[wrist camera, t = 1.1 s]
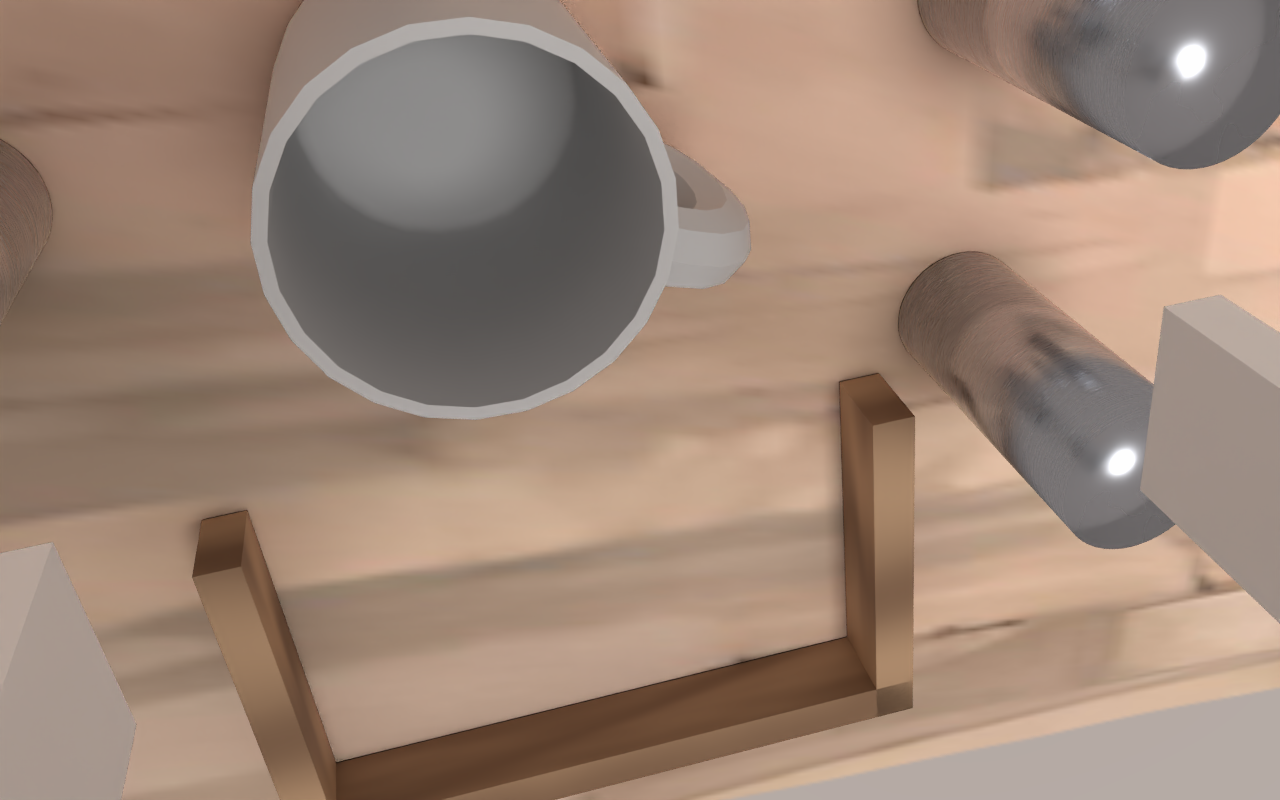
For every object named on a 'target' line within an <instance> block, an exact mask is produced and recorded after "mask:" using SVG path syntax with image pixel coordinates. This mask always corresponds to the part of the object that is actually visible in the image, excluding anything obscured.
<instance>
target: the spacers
mask: <svg viewBox="0 0 1280 800" xmlns="http://www.w3.org/2000/svg"><path fill="white" fill-rule="evenodd" d="M918 6H919V12H920V15H921V18H922V21H923V24H924V26H925V28H926V30H927V31H928V33H929V34H930V36H931V37H932V38H933V39H934V40H935V41H936V42H937V43H938V44H939V45H941V46H942V47H943V48H945V49H947V50H949V51H950V52H952V53H954V54H956V55H958V56H960V57H962V58H963V59H965V60H967V61H969V62H971V63H973V64H975V65H977V66H978V67H980V68H982V69H984V70H986V71H988V72H990V73H992V74H993V75H995V76H997V77H999V78H1001V79H1003V80H1005V81H1007V82H1008V83H1010V84H1012V85H1014V86H1016V87H1018V88H1020V89H1022V90H1023V91H1025V92H1027V93H1029V94H1031V95H1033V96H1035V97H1037V98H1038V99H1040V100H1042V101H1044V102H1046V103H1048V104H1050V105H1052V106H1053V107H1055V108H1057V109H1059V110H1061V111H1063V112H1065V113H1066V114H1068V115H1070V116H1072V117H1074V118H1076V119H1078V120H1080V121H1081V122H1083V123H1085V124H1087V125H1089V126H1091V127H1093V128H1095V129H1096V130H1098V131H1100V132H1102V133H1104V134H1106V135H1108V136H1110V137H1111V138H1113V139H1115V140H1117V141H1119V142H1121V143H1123V144H1125V145H1126V146H1128V147H1130V148H1132V149H1134V150H1136V151H1138V152H1140V153H1141V154H1143V155H1145V156H1147V157H1149V158H1151V159H1153V160H1154V161H1156V162H1158V163H1160V164H1162V165H1165V166H1168V167H1172V168H1178V169H1197V168H1204V167H1208V166H1211V165H1215V164H1217V163H1220V162H1222V161H1225V160H1227V159H1229V158H1231V157H1233V156H1235V155H1236V154H1238V153H1240V152H1241V151H1243V150H1244V149H1246V148H1247V147H1248V146H1250V145H1251V144H1252V143H1253V142H1255V141H1256V140H1257V139H1258V138H1259V137H1260V136H1261V135H1262V134H1263V133H1264V132H1265V131H1266V130H1267V129H1268V128H1269V127H1270V126H1271V125H1272V123H1273V122H1274V121H1275V120H1276V119H1277V117H1278V116H1279V115H1280V0H918ZM51 225H52V206H51V200H50V197H49V193H48V190H47V188H46V186H45V184H44V182H43V180H42V178H41V177H40V175H39V173H38V172H37V170H36V169H35V168H34V167H33V166H32V164H31V163H30V162H29V161H28V160H27V159H26V158H25V157H24V156H23V155H22V154H21V153H20V152H18V151H17V150H16V149H14V148H13V147H12V146H10V145H9V144H7V143H5V142H4V141H2V140H0V325H1V323H2V321H3V319H4V318H5V316H6V314H7V312H8V310H9V309H10V307H11V305H12V303H13V301H14V300H15V298H16V296H17V294H18V292H19V291H20V289H21V287H22V285H23V283H24V282H25V280H26V278H27V276H28V274H29V273H30V271H31V269H32V267H33V265H34V264H35V262H36V260H37V258H38V256H39V255H40V253H41V251H42V249H43V247H44V245H45V243H46V241H47V239H48V237H49V234H50V231H51ZM898 324H899V333H900V337H901V340H902V343H903V345H904V346H905V348H906V350H907V351H908V352H909V353H910V354H911V355H912V357H913V358H914V359H915V360H916V361H917V362H918V363H919V364H920V365H921V366H922V368H923V369H924V370H925V371H926V372H927V373H928V374H929V375H930V376H931V377H932V379H933V380H934V381H935V382H936V383H937V384H938V385H939V386H940V387H941V388H942V389H943V391H944V392H945V393H946V394H947V395H948V396H949V397H950V398H951V399H952V400H953V402H954V403H955V404H956V405H957V406H958V407H959V408H960V409H961V410H962V411H963V413H964V414H965V415H966V416H967V417H968V418H969V419H970V420H971V421H972V422H973V423H974V425H975V426H976V427H977V428H978V429H979V430H980V431H981V432H982V433H983V434H984V436H985V437H986V438H987V439H988V440H989V441H990V442H991V443H992V444H993V445H994V447H995V448H996V449H997V450H998V451H999V452H1000V453H1001V454H1002V455H1003V456H1004V457H1005V459H1006V460H1007V461H1008V462H1009V463H1010V464H1011V465H1012V466H1013V467H1014V468H1015V470H1016V471H1017V472H1018V473H1019V474H1020V475H1021V476H1022V477H1023V478H1024V479H1025V481H1026V482H1027V483H1028V484H1029V485H1030V486H1031V487H1032V488H1033V489H1034V490H1035V491H1036V493H1037V494H1038V495H1039V496H1040V497H1041V498H1042V499H1043V500H1044V501H1045V502H1046V504H1047V505H1048V506H1049V507H1050V508H1051V509H1052V510H1053V511H1054V512H1055V513H1056V515H1057V516H1058V517H1059V518H1060V519H1061V520H1062V521H1063V522H1064V523H1065V524H1066V525H1067V527H1068V528H1069V529H1070V530H1071V531H1072V532H1073V533H1074V534H1075V535H1076V536H1077V537H1078V538H1079V539H1080V540H1082V541H1083V542H1085V543H1087V544H1089V545H1092V546H1094V547H1098V548H1104V549H1120V548H1127V547H1132V546H1135V545H1139V544H1142V543H1144V542H1147V541H1149V540H1151V539H1153V538H1155V537H1157V536H1159V535H1161V534H1162V533H1164V532H1165V531H1167V530H1169V529H1170V528H1171V527H1173V526H1174V525H1175V523H1174V522H1173V521H1172V520H1171V519H1170V518H1169V517H1168V516H1167V515H1166V514H1165V513H1164V512H1162V511H1161V510H1160V509H1159V508H1158V507H1157V506H1156V505H1155V504H1154V503H1153V502H1152V501H1151V500H1150V499H1149V498H1148V497H1147V496H1146V495H1145V494H1144V493H1143V492H1142V491H1140V486H1141V479H1142V471H1143V463H1144V456H1145V448H1146V440H1147V432H1148V425H1149V417H1150V409H1151V402H1152V394H1153V386H1154V384H1152V383H1151V382H1150V381H1149V380H1147V379H1146V378H1145V377H1144V376H1142V375H1141V374H1140V373H1139V372H1137V371H1136V370H1135V369H1134V368H1132V367H1131V366H1130V365H1129V364H1128V363H1126V362H1125V361H1124V360H1123V359H1121V358H1120V357H1119V356H1118V355H1116V354H1115V353H1114V352H1113V351H1111V350H1110V349H1109V348H1108V347H1107V346H1105V345H1104V344H1103V343H1102V342H1100V341H1099V340H1098V339H1097V338H1095V337H1094V336H1093V335H1092V334H1090V333H1089V332H1088V331H1087V330H1085V329H1084V328H1083V327H1082V326H1081V325H1079V324H1078V323H1077V322H1076V321H1074V320H1073V319H1072V318H1071V317H1069V316H1068V315H1067V314H1066V313H1064V312H1063V311H1062V310H1061V309H1059V308H1058V307H1057V306H1056V305H1055V304H1053V303H1052V302H1051V301H1050V300H1048V299H1047V298H1046V297H1045V296H1043V295H1042V294H1041V293H1040V292H1038V291H1037V290H1036V289H1035V288H1034V287H1032V286H1031V285H1030V284H1029V283H1027V282H1026V281H1025V280H1024V279H1022V278H1021V277H1020V276H1019V275H1017V274H1016V273H1015V272H1014V271H1012V270H1011V269H1010V268H1009V267H1008V266H1006V265H1005V264H1004V263H1003V262H1001V261H1000V260H998V259H997V258H995V257H993V256H991V255H988V254H985V253H980V252H964V253H958V254H954V255H951V256H949V257H946V258H944V259H942V260H940V261H938V262H936V263H935V264H933V265H932V266H930V267H929V268H928V269H926V270H925V271H924V272H923V273H922V274H921V275H920V276H919V277H918V278H917V279H916V280H915V282H914V283H913V284H912V285H911V287H910V289H909V290H908V292H907V293H906V296H905V298H904V300H903V302H902V305H901V309H900V313H899V323H898Z"/></svg>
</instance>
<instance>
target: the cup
mask: <svg viewBox="0 0 1280 800" xmlns="http://www.w3.org/2000/svg"><path fill="white" fill-rule="evenodd" d="M251 246H252V250H253V254H254V258H255V262H256V265H257V269H258V273H259V277H260V281H261V285H262V289H263V292H264V296H265V297H266V299H267V301H268V302H269V304H270V306H271V307H272V309H273V311H274V312H275V314H276V316H277V317H278V319H279V321H280V322H281V324H282V326H283V327H284V329H285V331H286V332H287V334H288V336H289V337H290V339H291V341H292V342H293V343H294V344H295V345H296V346H297V347H298V348H300V349H301V350H302V351H303V352H304V353H305V354H306V355H307V356H308V357H309V358H310V359H311V360H312V361H313V362H314V363H315V364H316V365H317V366H318V367H319V368H320V369H321V370H322V371H323V372H324V373H325V374H326V375H327V376H328V377H330V378H331V379H333V380H335V381H337V382H338V383H340V384H342V385H344V386H345V387H347V388H349V389H351V390H352V391H354V392H356V393H358V394H360V395H361V396H363V397H365V398H367V399H368V400H370V401H372V402H374V403H376V404H380V405H383V406H387V407H390V408H394V409H397V410H401V411H404V412H408V413H411V414H414V415H418V416H421V417H427V418H449V419H470V420H478V419H483V418H489V417H495V416H500V415H506V414H512V413H517V412H523V411H527V410H530V409H532V408H535V407H537V406H539V405H542V404H544V403H546V402H549V401H551V400H553V399H556V398H558V397H560V396H563V395H565V394H567V393H570V392H572V391H574V390H575V389H577V388H578V387H579V386H581V385H582V384H584V383H585V382H586V381H588V380H589V379H591V378H592V377H593V376H595V375H596V374H597V373H599V372H600V371H602V370H603V369H604V368H606V367H607V366H608V365H610V364H611V363H613V362H614V361H615V360H616V359H617V357H618V356H619V355H620V354H621V353H622V352H623V350H624V349H625V348H626V347H627V346H628V344H629V343H630V342H631V341H632V340H633V339H634V337H635V336H636V335H637V334H638V333H639V331H640V330H641V329H642V328H643V327H644V326H645V324H646V323H647V321H648V319H649V317H650V315H651V313H652V311H653V309H654V307H655V305H656V303H657V301H658V299H659V297H660V295H661V293H662V291H663V289H664V287H665V286H666V287H682V288H698V289H705V288H709V287H712V286H716V285H720V284H724V283H725V282H726V281H727V280H728V279H729V278H730V277H731V276H732V275H733V274H734V273H735V272H736V270H737V269H738V268H739V267H740V266H741V265H742V264H743V263H744V262H745V261H746V259H747V257H748V255H749V253H750V251H751V239H750V223H749V218H748V215H747V212H746V210H745V207H744V205H743V204H742V203H741V202H740V200H739V199H738V198H737V197H736V196H735V195H734V193H733V192H732V191H731V190H730V189H729V188H728V187H726V186H725V185H724V184H723V183H721V182H720V181H719V180H718V179H717V178H715V177H714V176H713V175H712V174H710V173H709V172H708V171H707V170H706V169H704V168H703V167H702V166H701V165H699V164H698V163H697V162H696V161H694V160H693V159H691V158H689V157H688V156H686V155H685V154H683V153H681V152H680V151H678V150H676V149H675V148H673V147H671V146H668V145H666V144H664V143H663V141H662V138H661V135H660V132H659V129H658V128H657V126H656V125H655V123H654V122H653V121H652V119H651V118H650V116H649V115H648V113H647V112H646V111H645V109H644V108H643V106H642V105H641V103H640V102H639V101H638V99H637V98H636V96H635V95H634V93H633V92H632V91H631V89H630V88H629V86H628V85H627V84H626V82H625V81H624V80H623V79H622V77H621V76H620V75H619V74H618V72H617V71H616V70H615V69H614V67H613V66H612V65H611V64H610V62H609V61H608V60H607V59H606V58H605V56H604V55H603V54H602V53H601V51H600V50H599V49H598V48H597V46H596V45H595V44H594V43H593V41H592V40H591V39H590V38H589V36H588V35H587V34H586V33H585V32H584V30H583V29H582V28H581V27H580V25H579V24H578V23H577V22H576V20H575V19H574V18H573V17H572V15H571V14H570V13H569V12H568V10H567V9H566V8H565V7H564V5H563V4H562V3H561V2H560V1H559V0H304V1H303V2H302V4H301V5H300V6H299V8H298V9H297V11H296V12H295V14H294V15H293V17H292V18H291V20H290V21H289V23H288V25H287V28H286V31H285V34H284V37H283V40H282V43H281V46H280V49H279V52H278V55H277V58H276V61H275V64H274V67H273V73H272V78H271V84H270V90H269V95H268V101H267V107H266V112H265V118H264V124H263V129H262V135H261V141H260V147H259V152H258V158H257V164H256V169H255V175H254V181H253V186H252V213H251Z"/></svg>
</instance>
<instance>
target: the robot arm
mask: <svg viewBox="0 0 1280 800" xmlns="http://www.w3.org/2000/svg"><path fill="white" fill-rule="evenodd" d="M1140 491H1142V492H1143V493H1144V494H1145V495H1146V496H1147V497H1148V498H1149V499H1150V500H1151V501H1152V502H1153V503H1154V504H1155V505H1156V506H1157V507H1158V508H1159V509H1160V510H1161V511H1162V512H1164V513H1165V514H1166V515H1167V516H1168V517H1169V518H1170V519H1171V520H1172V521H1173V522H1174V523H1175V524H1176V525H1177V526H1178V527H1179V528H1180V529H1181V530H1182V531H1183V532H1184V533H1186V534H1187V535H1188V536H1189V537H1190V538H1191V539H1192V540H1193V541H1194V542H1195V543H1196V544H1197V545H1198V546H1199V547H1200V548H1201V549H1202V550H1203V551H1204V552H1205V553H1206V554H1207V555H1209V556H1210V557H1211V558H1212V559H1213V560H1214V561H1215V562H1216V563H1217V564H1218V565H1219V566H1220V567H1221V568H1222V569H1223V570H1224V571H1225V572H1226V573H1227V574H1228V575H1229V576H1231V577H1232V578H1233V579H1234V580H1235V581H1236V582H1237V583H1238V584H1239V585H1240V586H1241V587H1242V588H1243V589H1244V590H1245V591H1246V592H1247V593H1248V594H1249V595H1250V596H1251V597H1253V598H1254V599H1255V600H1256V601H1257V602H1258V603H1259V604H1260V605H1261V606H1262V607H1263V608H1264V609H1265V610H1266V611H1267V612H1268V613H1269V614H1270V615H1271V616H1272V617H1273V618H1275V619H1276V620H1277V621H1278V622H1279V623H1280V333H1279V332H1278V331H1276V330H1275V329H1273V328H1271V327H1270V326H1268V325H1267V324H1265V323H1264V322H1262V321H1261V320H1259V319H1258V318H1256V317H1254V316H1253V315H1251V314H1250V313H1248V312H1247V311H1245V310H1244V309H1242V308H1241V307H1239V306H1237V305H1236V304H1234V303H1233V302H1231V301H1230V300H1228V299H1227V298H1225V297H1223V296H1222V295H1217V296H1212V297H1207V298H1203V299H1198V300H1193V301H1188V302H1184V303H1179V304H1174V305H1170V306H1165V307H1164V310H1163V317H1162V325H1161V333H1160V340H1159V348H1158V356H1157V363H1156V371H1155V379H1154V386H1153V394H1152V402H1151V409H1150V417H1149V425H1148V432H1147V440H1146V448H1145V456H1144V463H1143V471H1142V479H1141V486H1140ZM135 729H136V722H135V720H134V717H133V715H132V713H131V711H130V709H129V706H128V704H127V702H126V700H125V698H124V696H123V693H122V691H121V689H120V687H119V685H118V683H117V680H116V678H115V676H114V674H113V672H112V669H111V667H110V665H109V663H108V661H107V659H106V656H105V654H104V652H103V650H102V648H101V646H100V643H99V641H98V639H97V637H96V635H95V632H94V630H93V628H92V626H91V624H90V622H89V619H88V617H87V615H86V613H85V611H84V608H83V606H82V604H81V602H80V600H79V598H78V595H77V593H76V591H75V589H74V587H73V585H72V582H71V580H70V578H69V576H68V574H67V571H66V569H65V567H64V565H63V563H62V561H61V558H60V556H59V554H58V552H57V550H56V548H55V545H54V543H53V542H51V543H46V544H41V545H36V546H32V547H27V548H22V549H17V550H13V551H8V552H3V553H0V800H121V798H122V793H123V789H124V784H125V779H126V774H127V769H128V764H129V759H130V754H131V749H132V744H133V739H134V734H135Z"/></svg>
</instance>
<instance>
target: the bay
mask: <svg viewBox="0 0 1280 800" xmlns="http://www.w3.org/2000/svg"><path fill="white" fill-rule="evenodd" d="M840 414H841V447H842V480H843V513H844V546H845V579H846V612H847V637H846V638H842V639H838V640H834V641H830V642H826V643H822V644H818V645H814V646H810V647H805V648H801V649H797V650H793V651H789V652H785V653H781V654H777V655H773V656H769V657H765V658H761V659H757V660H753V661H749V662H745V663H741V664H737V665H733V666H728V667H724V668H720V669H716V670H712V671H708V672H704V673H700V674H696V675H692V676H688V677H684V678H680V679H676V680H672V681H668V682H664V683H660V684H655V685H651V686H647V687H643V688H639V689H635V690H631V691H627V692H623V693H619V694H615V695H611V696H607V697H603V698H599V699H595V700H591V701H587V702H583V703H578V704H574V705H570V706H566V707H562V708H558V709H554V710H550V711H546V712H542V713H538V714H534V715H530V716H526V717H522V718H518V719H514V720H510V721H506V722H501V723H497V724H493V725H489V726H485V727H481V728H477V729H473V730H469V731H465V732H461V733H457V734H453V735H449V736H445V737H441V738H437V739H433V740H428V741H424V742H420V743H416V744H412V745H408V746H404V747H400V748H396V749H392V750H388V751H384V752H380V753H376V754H372V755H368V756H364V757H360V758H356V759H351V760H347V761H343V762H339V763H336V761H335V759H334V756H333V753H332V750H331V747H330V744H329V742H328V739H327V736H326V733H325V730H324V727H323V725H322V722H321V719H320V716H319V713H318V710H317V707H316V705H315V702H314V699H313V696H312V693H311V690H310V688H309V685H308V682H307V679H306V676H305V673H304V671H303V668H302V665H301V662H300V659H299V656H298V654H297V651H296V648H295V645H294V642H293V639H292V636H291V634H290V631H289V628H288V625H287V622H286V619H285V617H284V614H283V611H282V608H281V605H280V602H279V600H278V597H277V594H276V591H275V588H274V585H273V582H272V580H271V577H270V574H269V571H268V568H267V565H266V563H265V560H264V557H263V554H262V551H261V548H260V546H259V543H258V540H257V537H256V534H255V531H254V528H253V526H252V523H251V520H250V517H249V514H248V511H242V512H238V513H233V514H229V515H224V516H219V517H215V518H210V519H206V520H202V522H201V528H200V534H199V540H198V546H197V552H196V558H195V564H194V570H193V576H192V578H193V581H194V583H195V586H196V588H197V591H198V593H199V596H200V598H201V601H202V603H203V606H204V608H205V611H206V614H207V616H208V619H209V621H210V624H211V626H212V629H213V631H214V634H215V636H216V639H217V641H218V644H219V646H220V649H221V651H222V654H223V656H224V659H225V662H226V664H227V667H228V669H229V672H230V674H231V677H232V679H233V682H234V684H235V687H236V689H237V692H238V694H239V697H240V699H241V702H242V704H243V707H244V710H245V712H246V715H247V717H248V720H249V722H250V725H251V727H252V730H253V732H254V735H255V737H256V740H257V742H258V745H259V747H260V750H261V752H262V755H263V758H264V760H265V763H266V765H267V768H268V770H269V773H270V775H271V778H272V780H273V783H274V785H275V788H276V790H277V793H278V795H279V798H280V800H556V799H560V798H564V797H567V796H571V795H575V794H579V793H583V792H587V791H591V790H595V789H599V788H602V787H606V786H610V785H614V784H618V783H622V782H626V781H630V780H634V779H638V778H641V777H645V776H649V775H653V774H657V773H661V772H665V771H669V770H673V769H676V768H680V767H684V766H688V765H692V764H696V763H700V762H704V761H708V760H711V759H715V758H719V757H723V756H727V755H731V754H735V753H739V752H743V751H747V750H750V749H754V748H758V747H762V746H766V745H770V744H774V743H778V742H782V741H785V740H789V739H793V738H797V737H801V736H805V735H809V734H813V733H817V732H820V731H824V730H828V729H832V728H836V727H840V726H844V725H848V724H852V723H856V722H859V721H863V720H867V719H871V718H875V717H879V716H883V715H887V714H891V713H894V712H898V711H902V710H906V709H910V708H913V587H914V459H915V416H914V415H913V414H912V412H911V411H910V410H909V409H908V408H907V406H906V405H905V404H904V403H903V402H902V401H901V399H900V398H899V397H898V396H897V395H896V393H895V392H894V391H893V390H892V389H891V387H890V386H889V385H888V384H887V383H886V381H885V380H884V379H883V378H882V377H881V375H880V374H875V375H870V376H865V377H861V378H856V379H851V380H847V381H842V382H840Z"/></svg>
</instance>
